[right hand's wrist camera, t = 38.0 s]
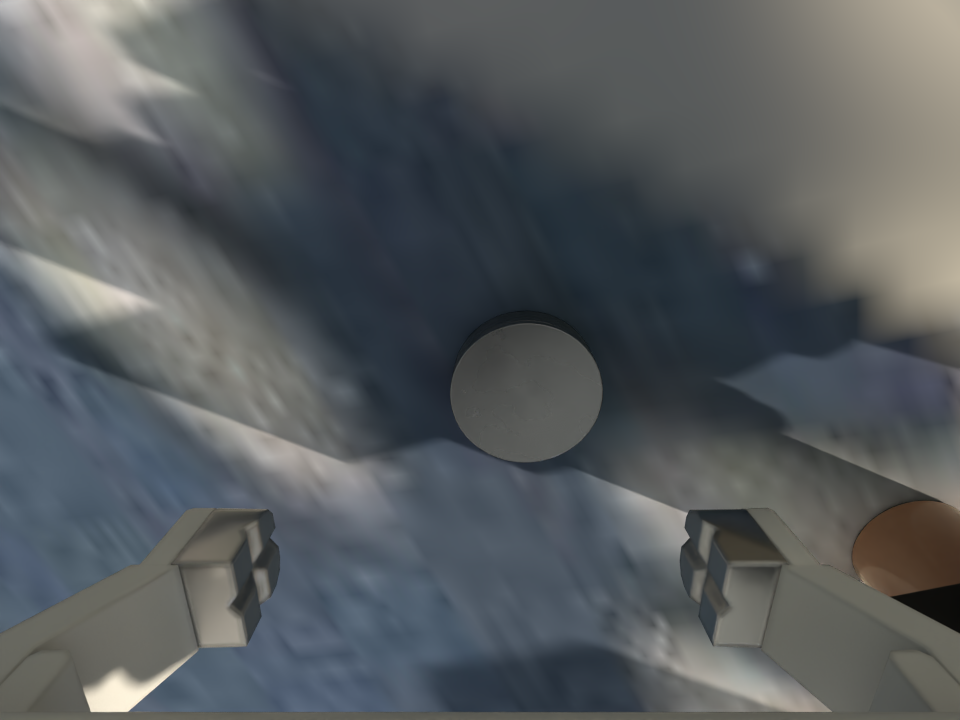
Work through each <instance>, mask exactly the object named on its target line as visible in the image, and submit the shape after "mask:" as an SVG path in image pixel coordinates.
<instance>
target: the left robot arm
mask: <svg viewBox="0 0 960 720" xmlns="http://www.w3.org/2000/svg"><path fill="white" fill-rule="evenodd" d="M891 598H893V599H895V600H897V601H899V602H900V603H902V604H904V605H906V606H908V607H910V608H912V609H914V610H916V611H918V612H920V613H921V614H923V615H925V616H927V617H929V618H931V619H933V620H935V621H937V622H939V623H940V624H942V625H944V626H946V627H948V628H950V629H952V630H954V631H956V632H958V633H960V583H959V584H954V585H948V586H943V587H938V588H933V589H928V590H923V591H917V592H912V593H907V594H902V595H897V596H891Z"/></svg>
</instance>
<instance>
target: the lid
mask: <svg viewBox="0 0 960 720" xmlns="http://www.w3.org/2000/svg"><path fill="white" fill-rule="evenodd" d="M450 399H451V406H452V411H453V414H454V417H455V419H456V421H457V423H458V425H459V427H460V429H461V430H462V431H463V433H464V434H465V435H466V437H467V438H468V439H469V440H470V441H471V442H472V443H473V444H475V445H476V446H477V447H478V448H480V449H481V450H483V451H484V452H486V453H488V454H490V455H492V456H494V457H497V458H500V459H503V460H507V461H512V462H522V463H523V462H538V461H543V460H547V459H551V458H554V457H556V456H559V455H561V454H563V453H565V452H567V451H568V450H570V449H571V448H573V447H574V446H576V445H577V444H578V443H579V442H580V441H581V440H582V439H583V438H584V437H585V436H586V435H587V434H588V433H589V431H590V430H591V428H592V427H593V425H594V423H595V421H596V419H597V417H598V415H599V412H600V409H601V404H602V399H603V385H602V379H601V374H600V371H599V368H598V366H597V364H596V361H595V360H594V357H593V355H592V353H591V351H590V349H589V348H588V346H587V344H586V342H585V341H584V340H583V338H582V337H581V336H580V335H579V333H578V332H577V331H575V330H574V329H573V328H572V327H571V326H570V325H568V324H567V323H565V322H564V321H562V320H560V319H558V318H556V317H553V316H551V315H548V314H544V313H540V312H533V311H518V312H511V313H507V314H503V315H500V316H497V317H495V318H493V319H491V320H489V321H487V322H486V323H484V324H482V325H481V326H480V327H479V328H477V329H476V330H475V331H474V332H473V333H472V334H471V335H470V336H469V337H468V339H467V340H466V341H465V343H464V344H463V346H462V348H461V349H460V351H459V354H458V356H457V359H456V363H455V367H454V372H453V376H452V381H451V389H450Z"/></svg>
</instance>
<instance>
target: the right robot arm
mask: <svg viewBox="0 0 960 720" xmlns="http://www.w3.org/2000/svg"><path fill="white" fill-rule="evenodd" d="M274 529H275V523H274V518H273V513H272V512H270V511H269V510H268V509H228V508H218V509H216V508H193V509H190V510H187V511H186V512H185V513H184V514H183V515H182V516H181V517H180V518H179V520H178V521H177V522H176V523H175V524H174V525H173V527H172V528H171V529H170V530H169V531H168V532H167V534H166V535H165V536H164V537H163V538H162V539H161V541H160V542H159V543H158V544H157V545H156V546H155V547H154V549H153V550H152V551H151V552H150V553H149V554H148V556H147V557H146V558H145V559H144V560H143V561H142V563H141V564H140V565H130V566H128V567H126V568H124V569H122V570H120V571H119V572H117V573H115V574H113V575H111V576H109V577H107V578H105V579H103V580H101V581H99V582H97V583H96V584H94V585H92V586H90V587H88V588H86V589H84V590H82V591H80V592H78V593H76V594H75V595H73V596H71V597H69V598H67V599H65V600H63V601H61V602H59V603H57V604H55V605H54V606H52V607H50V608H48V609H46V610H44V611H42V612H40V613H38V614H36V615H34V616H33V617H31V618H29V619H27V620H25V621H23V622H21V623H19V624H17V625H15V626H13V627H12V628H10V629H8V630H6V631H4V632H2V633H0V720H960V633H958V632H956V631H954V630H952V629H950V628H948V627H946V626H944V625H942V624H940V623H939V622H937V621H935V620H933V619H931V618H929V617H927V616H925V615H923V614H921V613H920V612H918V611H916V610H914V609H912V608H910V607H908V606H906V605H904V604H902V603H900V602H899V601H897V600H895V599H893V598H891V597H889V596H887V595H885V594H883V593H881V592H880V591H878V590H876V589H874V588H872V587H870V586H868V585H866V584H864V583H862V582H860V581H859V580H857V579H855V578H853V577H851V576H849V575H847V574H845V573H843V572H841V571H840V570H838V569H836V568H834V567H832V566H830V565H820V564H819V563H818V561H817V560H816V559H815V558H814V557H813V556H812V555H811V553H810V552H809V551H808V550H807V549H806V548H805V546H804V545H803V544H802V543H801V542H800V541H799V539H798V538H797V537H796V536H795V535H794V534H793V532H792V531H791V530H790V529H789V528H788V527H787V526H786V524H785V523H784V522H783V521H782V520H781V519H780V517H779V516H778V515H777V514H776V513H775V512H774V511H773V510H771V509H769V508H748V509H736V510H690V511H689V513H688V515H687V517H686V522H685V529H686V531H687V533H688V535H689V537H690V538H689V539H688V541H687V542H686V543H685V544H684V545H683V546H682V547H681V555H680V569H681V577H682V580H683V584H684V587H685V589H686V591H687V594H688V596H689V597H690V598H691V599H692V600H694V601H695V602H696V603H698V604H699V605H700V610H699V618H700V620H701V622H702V624H703V627H704V629H705V631H706V633H707V635H708V637H709V639H710V641H711V643H712V645H713V646H718V647H753V648H762V649H761V650H762V651H763V652H764V653H765V654H766V655H768V656H769V657H770V658H771V659H772V660H773V661H775V662H776V663H777V664H778V665H779V666H780V667H781V668H783V669H784V670H785V671H786V672H787V673H788V674H790V675H791V676H792V677H793V678H794V679H795V680H796V681H798V682H799V683H800V684H801V685H802V686H803V687H805V688H806V689H807V690H808V691H809V692H810V693H811V694H813V695H814V696H815V697H816V698H817V699H818V700H820V701H821V702H822V703H823V704H824V705H825V706H827V707H828V708H829V709H830V710H831V711H832V712H128V711H129V710H130V709H131V708H132V707H134V706H135V705H136V704H137V703H138V702H139V701H141V700H142V699H143V698H144V697H145V696H146V695H147V694H149V693H150V692H151V691H152V690H153V689H154V688H156V687H157V686H158V685H159V684H160V683H161V682H163V681H164V680H165V679H166V678H167V677H168V676H169V675H171V674H172V673H173V672H174V671H175V670H176V669H178V668H179V667H180V666H181V665H182V664H183V663H185V662H186V661H187V660H188V659H189V658H190V657H191V656H193V655H194V654H195V653H196V652H197V651H198V648H207V647H240V646H247V645H248V643H249V641H250V639H251V637H252V635H253V633H254V631H255V629H256V627H257V624H258V622H259V620H260V618H261V610H260V605H261V604H262V603H264V602H265V601H266V600H268V599H269V598H270V597H271V596H272V593H273V591H274V589H275V587H276V584H277V580H278V575H279V571H280V554H279V547H278V546H277V545H276V544H275V543H274V542H273V541H272V540H271V538H270V537H271V535H272V533H273V531H274Z"/></svg>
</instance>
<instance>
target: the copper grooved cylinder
mask: <svg viewBox="0 0 960 720" xmlns="http://www.w3.org/2000/svg"><path fill="white" fill-rule="evenodd" d="M852 562H853V567H854V569H855V572H856V573H857V575H858V576H859V578H860V579H861V580H862V581H863V582H864V583H865V584H866V585H868V586H870V587H872V588H874V589H876V590H878V591H880V592H881V593H883V594H885V595H887V596H889V597H891V596H897V595H902V594H907V593H912V592H917V591H923V590H928V589H933V588H938V587H943V586H948V585H954V584H959V583H960V511H959V510H958V509H956V508H954V507H952V506H950V505H948V504H945V503H941V502H936V501H913V502H908V503H904V504H901V505H898V506H895V507H893V508H890V509H888V510H886V511H884V512H883V513H881V514H880V515H878V516H877V517H875V518H874V519H873V520H871V521H870V522H869V523H868V524H867V525H866V526H865V527H864V529H863V530H862V531H861V532H860V534H859V536H858V537H857V539H856V541H855V544H854V547H853V551H852Z"/></svg>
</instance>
